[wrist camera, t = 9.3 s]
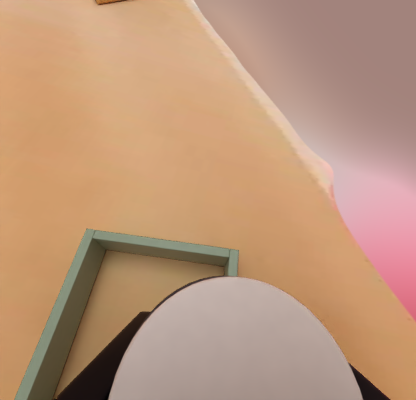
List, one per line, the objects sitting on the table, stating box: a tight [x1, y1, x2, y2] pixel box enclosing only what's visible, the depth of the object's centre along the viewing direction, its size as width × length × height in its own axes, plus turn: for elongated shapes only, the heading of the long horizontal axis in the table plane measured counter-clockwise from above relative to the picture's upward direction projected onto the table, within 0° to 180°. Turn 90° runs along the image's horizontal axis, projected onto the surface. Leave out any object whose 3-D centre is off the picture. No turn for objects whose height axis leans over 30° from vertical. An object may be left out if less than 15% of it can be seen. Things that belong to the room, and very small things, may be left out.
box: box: [14, 229, 239, 400], centre depth 18 cm, size 14×14×4 cm
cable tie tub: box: [108, 276, 363, 400], centre depth 9 cm, size 5×5×11 cm
